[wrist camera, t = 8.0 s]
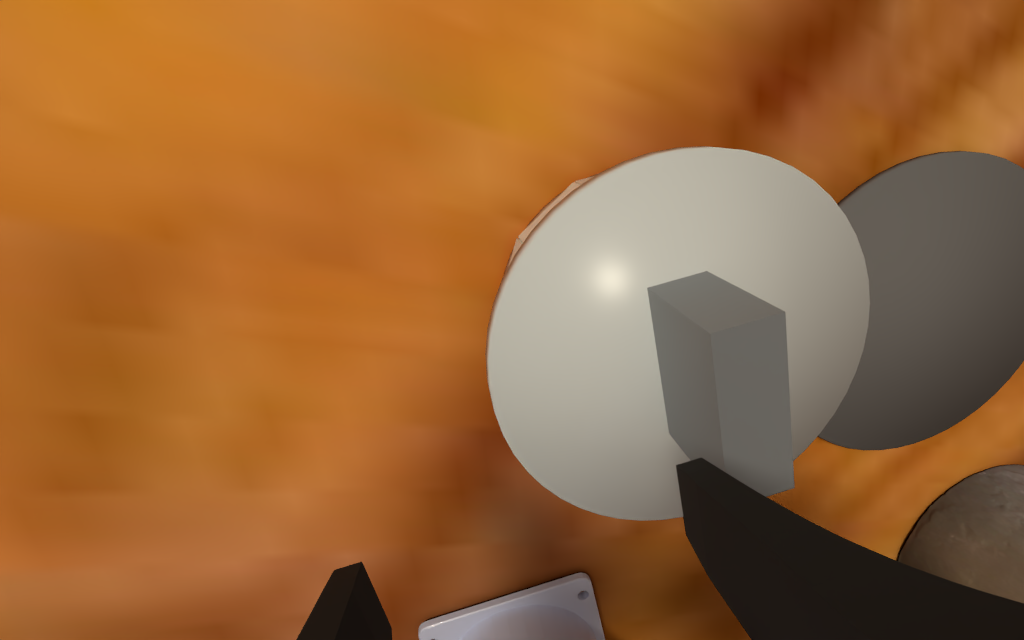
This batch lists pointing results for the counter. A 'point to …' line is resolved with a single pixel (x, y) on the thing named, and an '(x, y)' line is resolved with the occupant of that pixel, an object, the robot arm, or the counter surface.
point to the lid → (676, 329)
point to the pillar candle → (975, 534)
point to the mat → (934, 296)
